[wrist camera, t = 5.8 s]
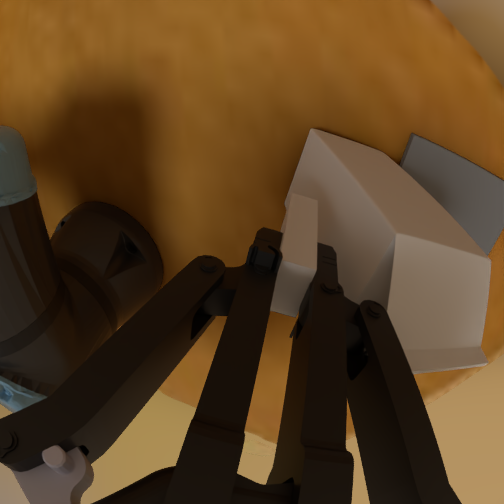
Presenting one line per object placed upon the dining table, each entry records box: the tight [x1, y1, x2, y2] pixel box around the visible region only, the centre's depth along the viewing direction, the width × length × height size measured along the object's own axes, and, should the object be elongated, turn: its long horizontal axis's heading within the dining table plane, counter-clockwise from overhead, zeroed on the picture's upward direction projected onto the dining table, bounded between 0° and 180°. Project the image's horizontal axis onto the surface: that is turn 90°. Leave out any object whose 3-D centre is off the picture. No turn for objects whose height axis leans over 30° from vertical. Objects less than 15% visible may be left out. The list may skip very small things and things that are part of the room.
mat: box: [399, 133, 504, 256], centre depth 26 cm, size 14×12×1 cm
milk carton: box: [284, 128, 491, 374], centre depth 18 cm, size 7×7×19 cm
